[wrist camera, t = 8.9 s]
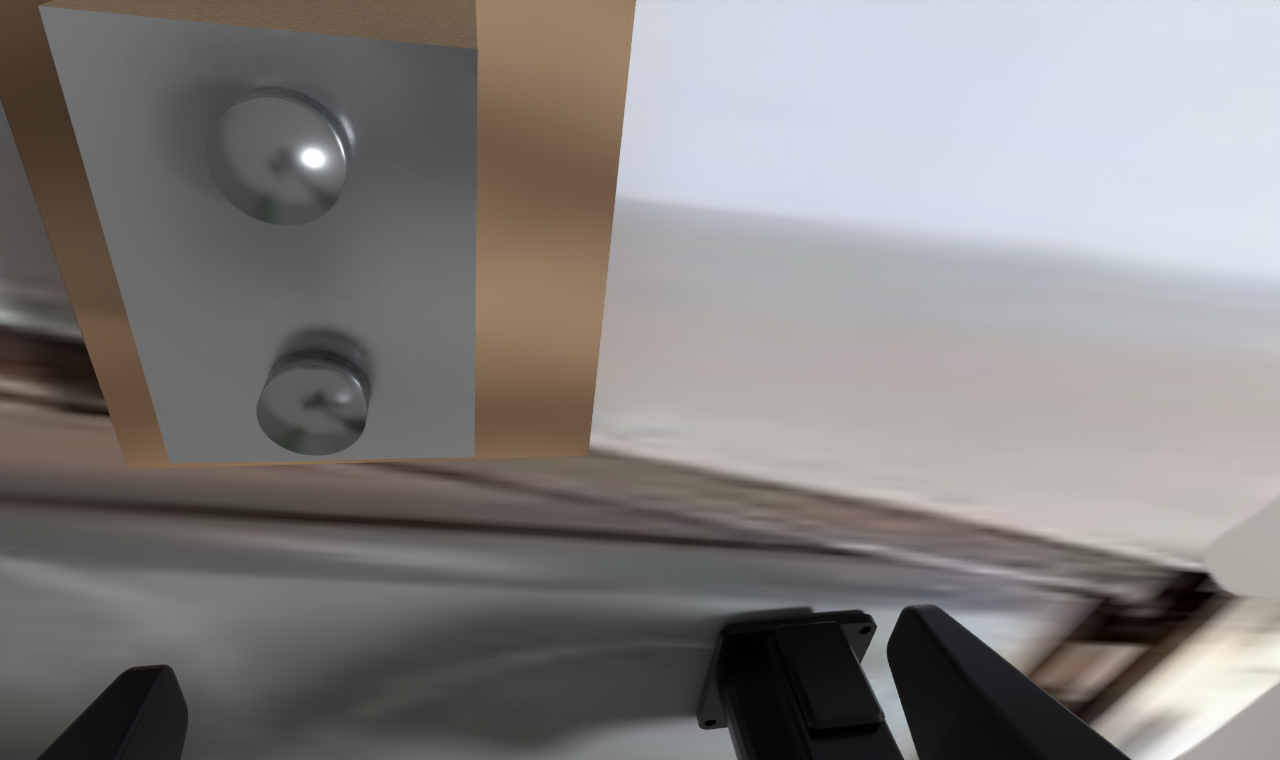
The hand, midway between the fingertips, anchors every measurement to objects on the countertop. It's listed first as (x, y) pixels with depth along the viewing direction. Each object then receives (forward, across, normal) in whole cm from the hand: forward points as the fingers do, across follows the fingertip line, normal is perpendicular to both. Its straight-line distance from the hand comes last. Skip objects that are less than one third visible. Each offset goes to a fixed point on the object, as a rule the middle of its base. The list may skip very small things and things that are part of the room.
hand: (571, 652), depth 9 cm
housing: (+9, +4, -3) cm, 10 cm away
